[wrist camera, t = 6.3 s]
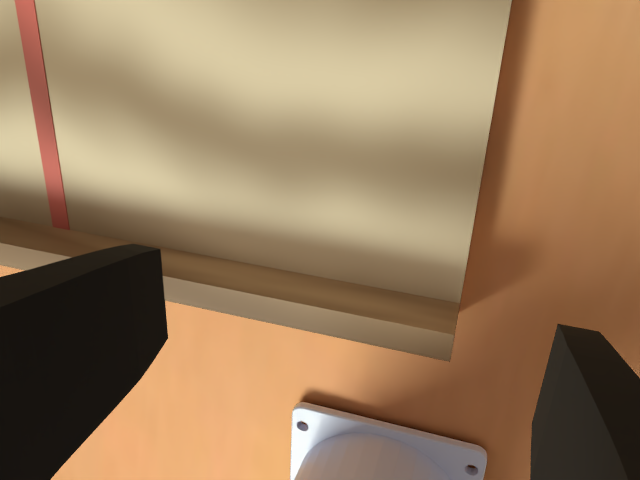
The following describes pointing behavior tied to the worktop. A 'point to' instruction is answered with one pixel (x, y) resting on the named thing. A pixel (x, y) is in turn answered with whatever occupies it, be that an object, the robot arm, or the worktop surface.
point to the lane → (257, 151)
